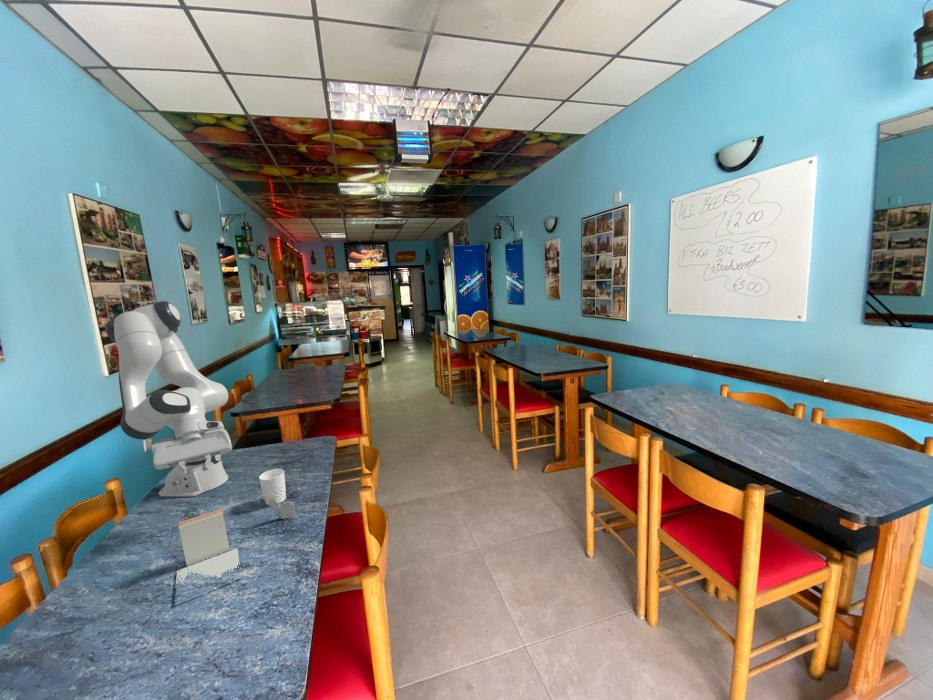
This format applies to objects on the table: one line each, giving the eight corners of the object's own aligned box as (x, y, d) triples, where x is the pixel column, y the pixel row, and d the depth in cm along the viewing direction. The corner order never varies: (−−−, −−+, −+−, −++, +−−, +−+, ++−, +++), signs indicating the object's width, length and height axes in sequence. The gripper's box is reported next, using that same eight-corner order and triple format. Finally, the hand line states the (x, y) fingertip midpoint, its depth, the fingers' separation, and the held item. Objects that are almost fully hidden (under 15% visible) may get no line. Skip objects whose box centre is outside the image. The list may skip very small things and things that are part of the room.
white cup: (292, 494, 139) (288, 468, 137) (279, 506, 131) (275, 479, 129) (272, 494, 140) (267, 468, 138) (258, 506, 132) (253, 479, 130)
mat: (177, 572, 102) (177, 570, 102) (237, 549, 110) (237, 548, 110) (174, 607, 91) (173, 604, 91) (241, 579, 98) (241, 577, 98)
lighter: (295, 513, 126) (291, 491, 125) (295, 516, 125) (291, 493, 123) (271, 520, 123) (267, 497, 122) (271, 523, 122) (267, 500, 120)
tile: (187, 561, 107) (179, 522, 104) (229, 545, 112) (222, 508, 110) (186, 567, 104) (178, 527, 102) (229, 551, 110) (222, 513, 108)
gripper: (148, 437, 116) (151, 479, 109) (227, 420, 127) (234, 458, 121) (153, 446, 120) (156, 487, 114) (228, 429, 131) (235, 466, 125)
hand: (196, 472), depth 117 cm, fingers open, 3 cm apart
